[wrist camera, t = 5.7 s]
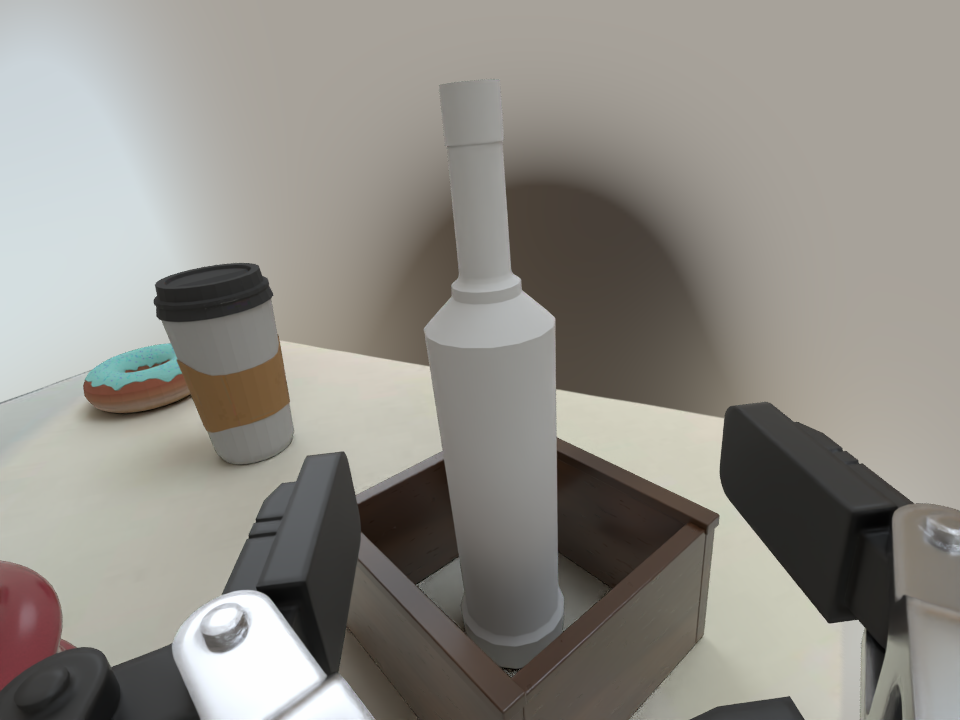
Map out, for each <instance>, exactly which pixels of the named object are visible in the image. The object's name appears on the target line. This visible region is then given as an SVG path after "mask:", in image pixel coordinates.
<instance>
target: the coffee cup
mask: <svg viewBox="0 0 960 720" xmlns="http://www.w3.org/2000/svg"><path fill="white" fill-rule="evenodd" d="M155 287H156V292H157V297H155V299H154V304H155V305H156V313H157V317H158V318H159V319H160V320H162V323H163V325H164V328H165V330H166V332H167V335H168V337H169V339H170V342H171V345H172V347H173V349H174V352H175V354H176V357H177V363H178V365H179V367H180V370H181V372H182V375H183V377H184V379H185V382H186V384H187V387H188V389H189V391H190V394H191V396H192V399H193V401H194V403H195V406H196V408H197V411H198V413H199V415H200V418H201V420H202V423H203V425H204V427H205V429H206V430H207V432H208V434H209V436H210V439H211V441H212V444H213V446H214V449H215V451H216V453H217V454H218V455H219V456H221V457H222V458H223V460H224V461H226V462H228V463H232V464H249V463H255V462H259V461H262V460H265V459H268V458H270V457H273V456H275V455H276V454H278V453H280V452H281V451H283V450H284V449H285V448H286V447H287V446H288V445H289V444H290V443H291V440H292V436H293V433H294V428H293V422H292V416H291V410H290V404H289V402H290V399H289V393H288V387H287V381H286V376H285V370H284V364H283V358H282V352H281V346H280V341H279V336H278V334H277V330H276V324H275V318H274V312H273V306H272V301H271V298H272V296H273V293H272V291H271V289H270V287H269V282H268V279H267V278H266V277H263V276H262V274H261V271H260V268H259V266H258V265H256V264H250V263H233V264H222V265H214V266H208V267H202V268H197V269H192V270H188V271H184V272H180V273H177V274H174V275H170V276H168V277H165V278H163V279H161V280H159V281H158V282H157V283H156V284H155Z"/></svg>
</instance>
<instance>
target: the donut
mask: <svg viewBox="0 0 960 720" xmlns="http://www.w3.org/2000/svg"><path fill="white" fill-rule="evenodd" d="M83 387H84V395H85V397H86V399H87V400H88V401H89V402H90V403H91V404H92V405H93V406H94V407H95V408H98V409H100V410H102V411H107V412H114V413H132V412H140V411H146V410H150V409H154V408H158V407H161V406H165V405H168V404H170V403H173V402H176V401H178V400H180V399H182V398H184V397H186V396H188V395H190V391H189V389H188V387H187V384H186V382H185V379H184V377H183V375H182V372H181V370H180V367H179V365H178V363H177V357H176V354H175V352H174V349H173V347H172V345H171V343H170V344H159V345H154V346H148V347H144V348H140V349H136V350H132V351H129V352H126V353H123V354H120V355H118V356H115V357H113V358H110V359H108V360H106V361H105V362H103V363H101V364H100V365H98V366H96V367H95V368H94V369H93V370H91V371H90V372H89V373H88V375H87V377H86V378H85V382H84V385H83Z"/></svg>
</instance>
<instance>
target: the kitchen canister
mask: <svg viewBox="0 0 960 720" xmlns="http://www.w3.org/2000/svg"><path fill="white" fill-rule="evenodd" d="M61 633H62V610H61V605H60V602H59V599H58V596H57V593H56V592H55V590H54V588H53V587H52V585H51V584H50V583H49V582H48V581H47V580H46V579H45V578H44V577H42V576H41V575H40V574H38V573H37V572H35V571H33V570H32V569H30V568H28V567H25V566H22V565H20V564H16V563H12V562H7V561H1V560H0V691H1V690H2V689H3V688H4V687H5V686H6V685H7V684H8V683H9V682H11V681H12V680H13V679H14V678H15V677H17V676H18V675H19V674H21V673H22V672H23V671H25V670H26V669H28V668H29V667H31V666H32V665H34V664H36V663H38V662H39V661H41V660H43V659H45V658H47V657H49V656H52V655H54V654H56V653H59V652H62V651H65V650H69V649H73V648H77V647H75V646H74V645H72V644H71V643H69V642H67V641H65V640H63V639H61Z"/></svg>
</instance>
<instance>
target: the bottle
mask: <svg viewBox="0 0 960 720" xmlns="http://www.w3.org/2000/svg"><path fill="white" fill-rule="evenodd" d="M439 92H440V102H441V110H442V121H443V130H444V140H445V146H447V153H448V164H449V174H450V184H451V195H452V205H453V216H454V226H455V235H456V246H457V256H458V267H459V277H458V279H457V280H456V281H454V283H453V284H452V285H451V289H452V297H451V298H450V299H449V300H448V301H447V302H446V304H445V305H444V306H443V307H442V308H441V309H440V310H439V311H438V313H437V314H436V315H435V316H434V317H433V318H432V319H431V320H430V322H429V323H428V325H427V326H426V327H425V328H424V332H425V339H426V345H427V351H428V358H429V365H430V371H431V378H432V384H433V391H434V397H435V404H436V410H437V417H438V423H439V430H440V436H441V443H442V449H443V456H444V462H445V468H446V475H447V481H448V488H449V494H450V501H451V507H452V514H453V520H454V527H455V533H456V540H457V546H458V553H459V559H460V566H461V572H462V579H463V585H464V595H463V599H462V602H461V610H462V616H463V620H464V625H465V629H466V634H467V636H468V637H469V638H470V639H471V640H472V641H473V642H475V643H476V644H477V645H478V646H479V647H480V648H481V649H482V650H483V651H484V652H485V653H486V654H487V655H488V656H489V657H490V658H491V659H492V660H493V661H494V662H495V663H496V664H497V665H498V666H499V667H504V668H513V669H520V668H523V667H524V666H525V665H526V664H527V663H529V662H530V661H531V660H532V659H533V658H534V657H535V656H537V655H538V654H539V653H540V652H541V651H542V650H543V649H545V648H546V647H547V646H548V645H549V644H550V643H551V642H552V641H554V640H555V639H556V638H557V637H558V636H559V635H560V634H562V631H563V619H564V597H563V594H562V592H561V590H560V588H559V585H558V524H557V436H556V354H555V353H556V352H555V317H554V316H552V315H551V314H550V313H549V312H548V311H547V310H546V309H545V308H543V307H542V306H541V305H540V304H538V303H537V302H536V301H535V300H533V299H532V298H531V297H530V296H528V295H527V294H526V293H525V292H523V291H522V288H521V279H520V278H518V277H517V276H515V275H513V273H512V271H511V263H510V248H509V234H508V218H507V203H506V188H505V173H504V159H503V144H502V141H503V140H504V135H503V119H502V103H501V86H500V80H499V79H487V80H472V81H462V82H454V83H447V84H442V85H439Z"/></svg>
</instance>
